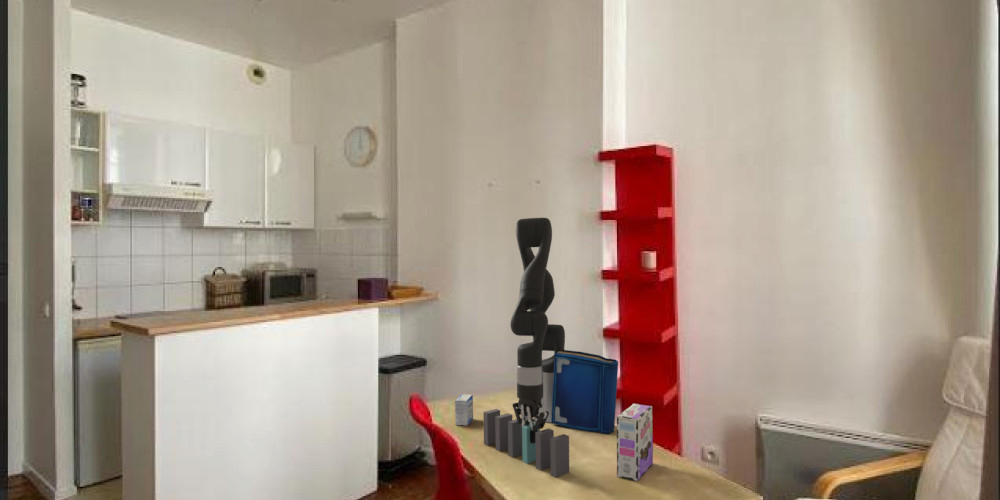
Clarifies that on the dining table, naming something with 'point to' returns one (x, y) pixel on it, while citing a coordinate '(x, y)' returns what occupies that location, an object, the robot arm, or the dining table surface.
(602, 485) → the dining table surface
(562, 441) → the domino
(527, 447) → the domino
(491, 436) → the domino
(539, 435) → the domino
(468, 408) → the medicine box
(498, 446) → the domino
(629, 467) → the candy box
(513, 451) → the domino
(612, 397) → the book
